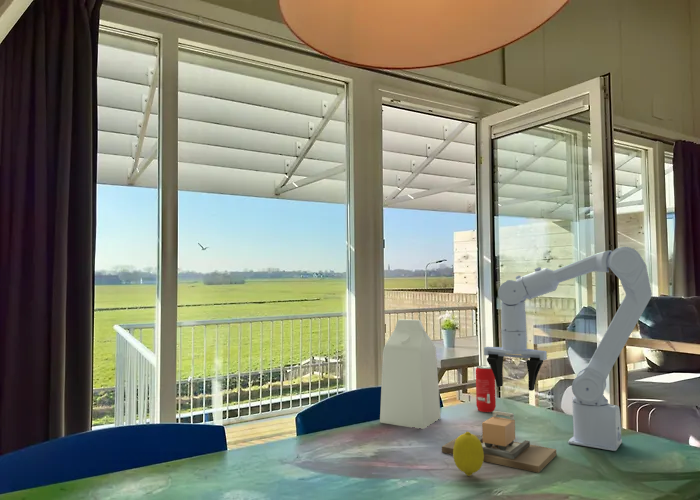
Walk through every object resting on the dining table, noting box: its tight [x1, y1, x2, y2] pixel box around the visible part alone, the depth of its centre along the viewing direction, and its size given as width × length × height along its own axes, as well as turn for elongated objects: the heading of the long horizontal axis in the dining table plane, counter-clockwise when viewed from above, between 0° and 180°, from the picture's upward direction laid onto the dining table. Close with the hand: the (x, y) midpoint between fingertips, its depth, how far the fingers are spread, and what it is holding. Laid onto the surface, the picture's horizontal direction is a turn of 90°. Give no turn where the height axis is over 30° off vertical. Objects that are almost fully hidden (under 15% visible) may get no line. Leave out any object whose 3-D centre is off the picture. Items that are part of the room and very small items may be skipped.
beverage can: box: [475, 364, 497, 413], centre depth 143 cm, size 5×5×12 cm
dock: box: [441, 432, 557, 473], centre depth 106 cm, size 20×12×2 cm, turn 53°
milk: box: [379, 318, 441, 430], centre depth 134 cm, size 12×12×26 cm
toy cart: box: [481, 410, 516, 450], centre depth 107 cm, size 6×5×6 cm
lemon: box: [452, 431, 484, 477], centre depth 95 cm, size 6×6×8 cm
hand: (515, 388), depth 122 cm, fingers open, 7 cm apart
